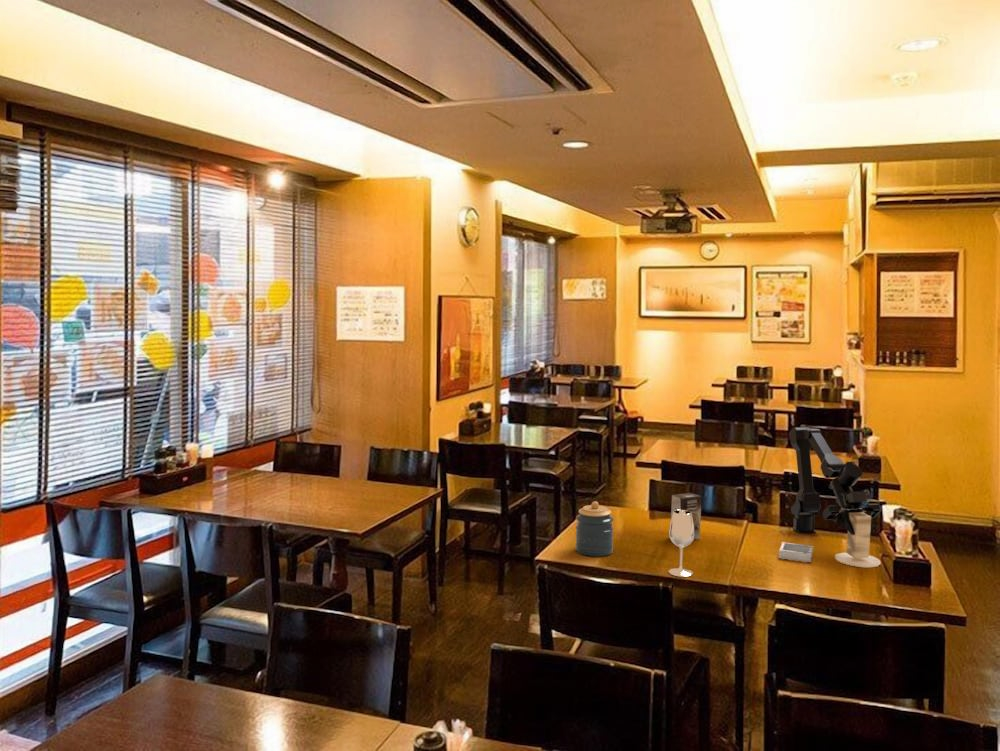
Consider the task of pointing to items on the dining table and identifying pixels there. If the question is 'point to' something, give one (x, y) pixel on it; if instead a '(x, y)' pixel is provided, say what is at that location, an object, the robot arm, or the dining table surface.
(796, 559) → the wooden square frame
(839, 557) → the plate
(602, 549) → the canister
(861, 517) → the maple block
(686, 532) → the wineglass
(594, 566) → the dining table surface
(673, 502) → the coffee box
